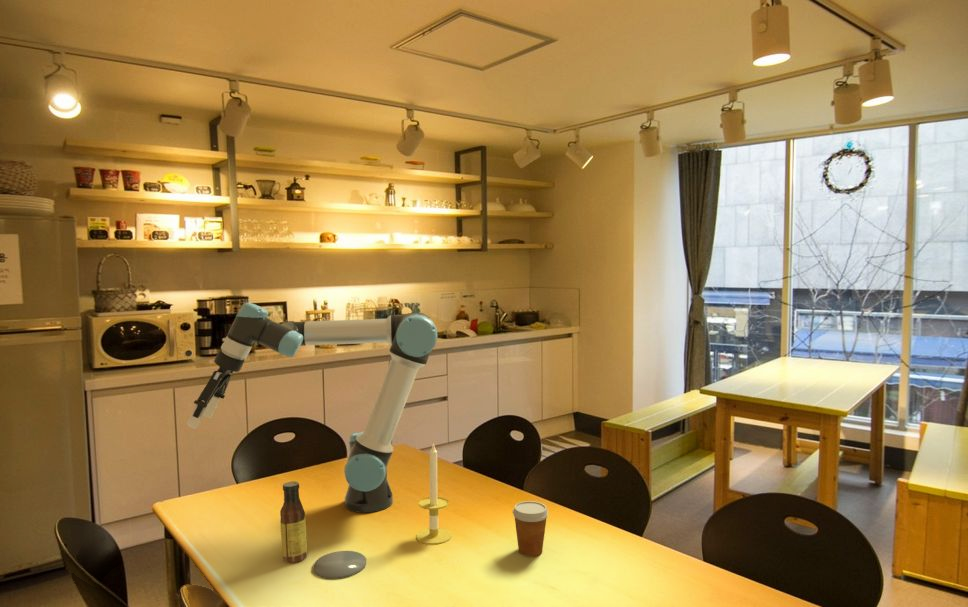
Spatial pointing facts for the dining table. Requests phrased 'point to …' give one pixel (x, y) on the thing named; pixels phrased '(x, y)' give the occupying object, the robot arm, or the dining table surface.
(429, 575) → the dining table surface
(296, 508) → the sauce bottle
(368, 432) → the robot arm
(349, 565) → the disc
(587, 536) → the dining table surface
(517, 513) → the disposable coffee cup
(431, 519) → the candle
